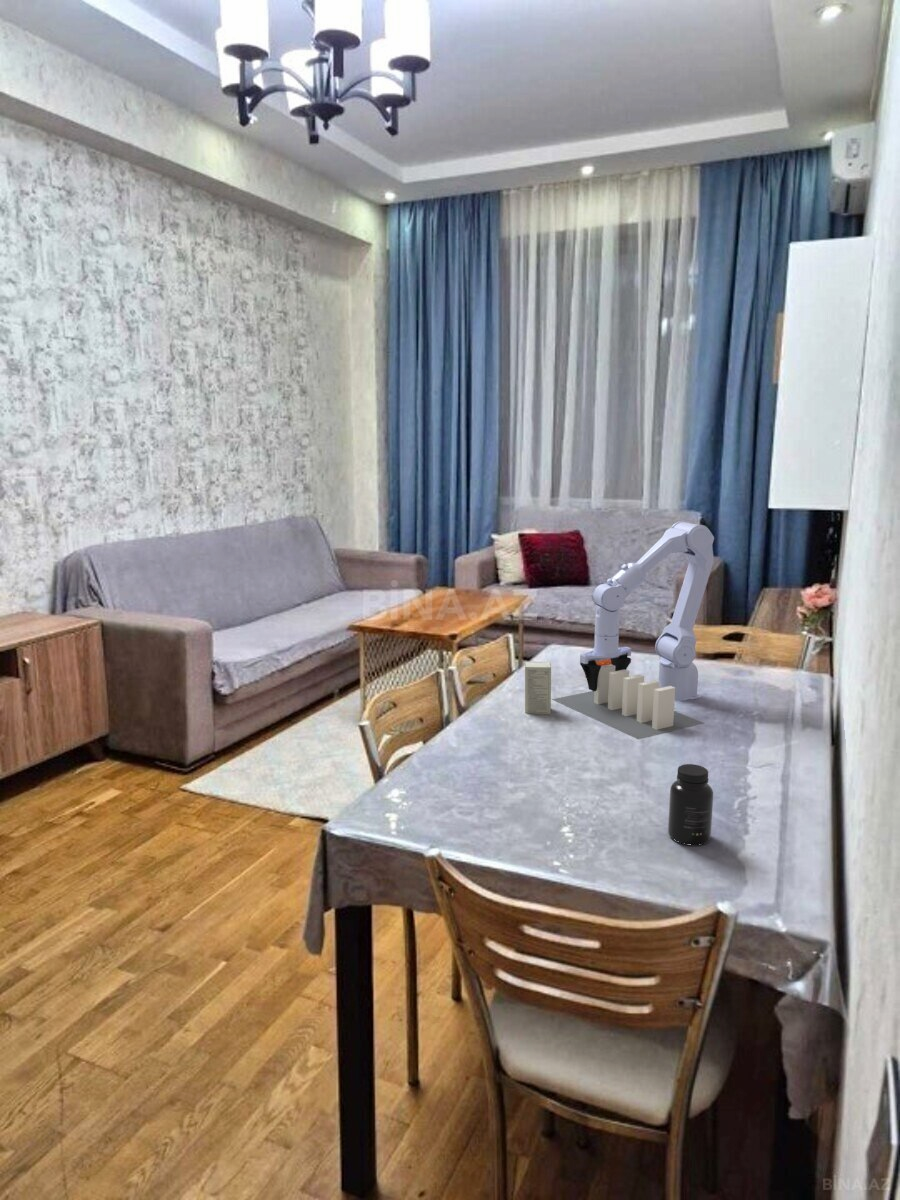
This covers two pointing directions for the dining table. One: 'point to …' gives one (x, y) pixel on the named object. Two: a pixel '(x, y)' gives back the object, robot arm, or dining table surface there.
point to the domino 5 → (663, 707)
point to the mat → (621, 716)
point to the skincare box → (538, 687)
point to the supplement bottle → (691, 806)
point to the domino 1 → (603, 684)
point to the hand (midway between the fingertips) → (604, 687)
